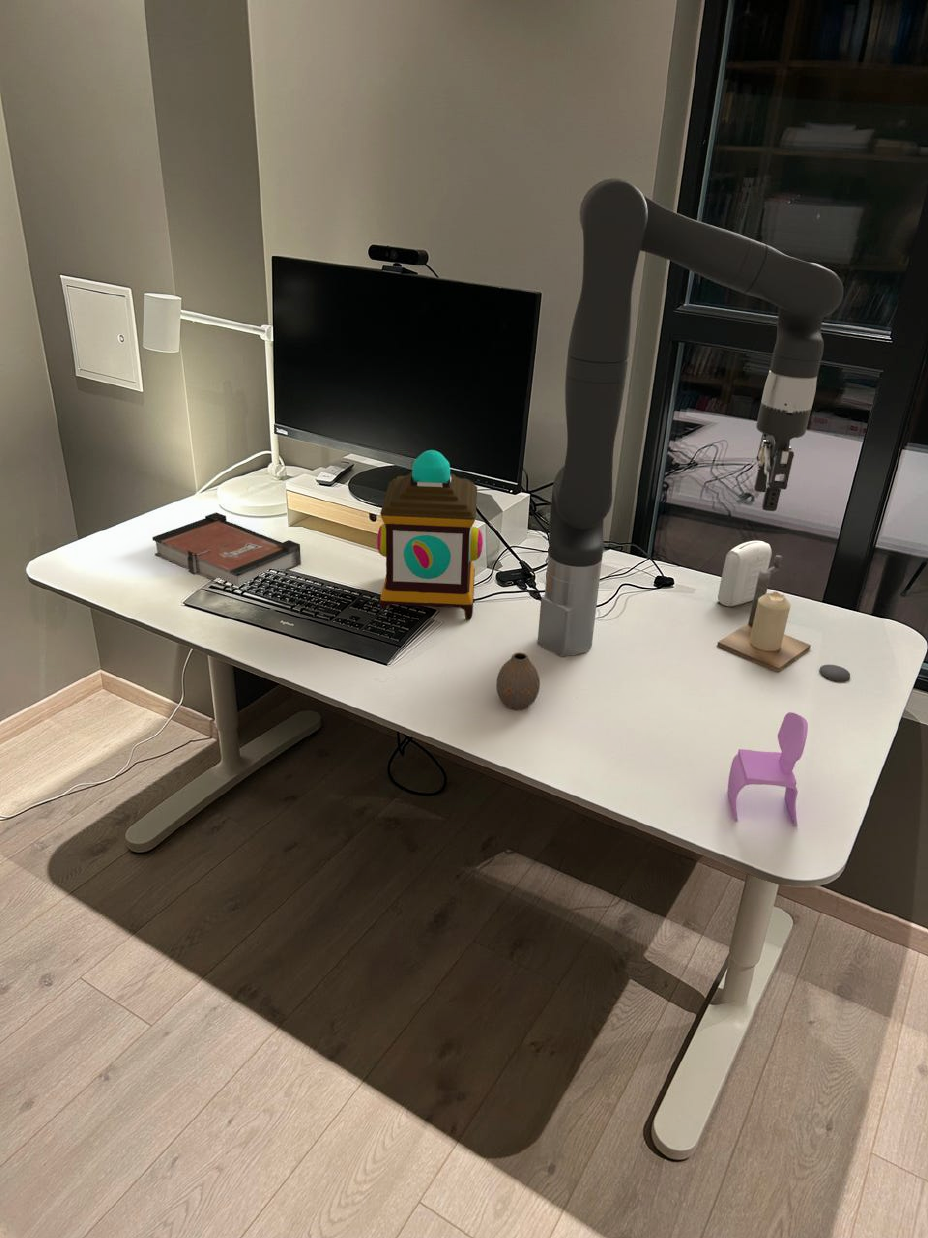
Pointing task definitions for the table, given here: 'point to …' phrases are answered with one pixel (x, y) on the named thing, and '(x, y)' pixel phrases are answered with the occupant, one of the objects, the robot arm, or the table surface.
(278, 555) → the book
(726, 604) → the photo printer
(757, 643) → the candle
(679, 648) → the table surface
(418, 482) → the decorative lantern
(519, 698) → the vase
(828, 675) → the pad
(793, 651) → the stand with wooden base
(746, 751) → the toy chair
